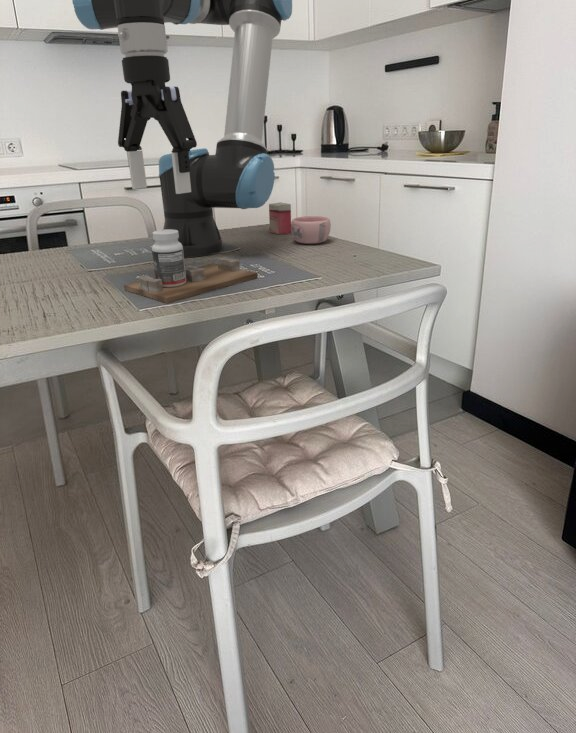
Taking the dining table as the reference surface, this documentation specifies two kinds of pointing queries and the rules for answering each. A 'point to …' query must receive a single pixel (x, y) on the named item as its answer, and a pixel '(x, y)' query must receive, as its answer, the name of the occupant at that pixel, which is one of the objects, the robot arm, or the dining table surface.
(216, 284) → the board
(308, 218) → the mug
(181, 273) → the pill bottle
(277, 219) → the small box
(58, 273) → the dining table surface
